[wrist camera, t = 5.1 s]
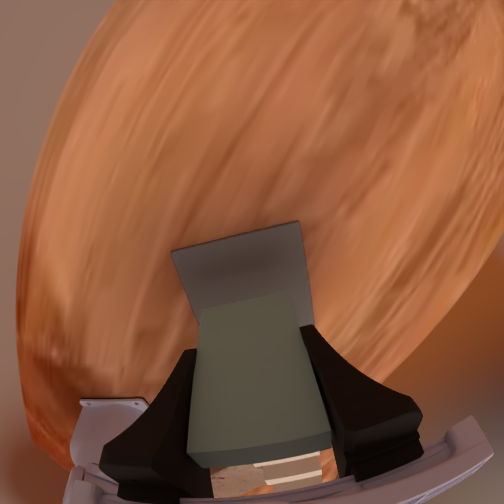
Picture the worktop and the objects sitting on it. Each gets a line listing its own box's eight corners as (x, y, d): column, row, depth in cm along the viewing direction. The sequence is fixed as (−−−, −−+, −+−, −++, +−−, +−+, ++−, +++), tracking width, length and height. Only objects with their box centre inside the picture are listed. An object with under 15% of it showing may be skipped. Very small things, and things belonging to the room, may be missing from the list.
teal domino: (210, 330, 17) (202, 468, 9) (201, 309, 16) (186, 452, 8) (291, 312, 17) (331, 448, 8) (287, 290, 16) (331, 430, 8)
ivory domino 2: (268, 434, 30) (276, 497, 22) (266, 429, 29) (274, 494, 21) (308, 426, 30) (323, 487, 22) (307, 420, 29) (322, 484, 21)
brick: (238, 434, 29) (239, 466, 25) (292, 445, 32) (296, 474, 28) (185, 468, 35) (183, 492, 31) (230, 478, 37) (230, 500, 33)
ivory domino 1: (259, 413, 28) (267, 485, 20) (256, 405, 27) (264, 480, 19) (304, 403, 28) (321, 474, 19) (303, 396, 27) (321, 469, 19)
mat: (256, 442, 31) (256, 444, 31) (171, 250, 20) (170, 252, 19) (324, 428, 31) (325, 429, 31) (298, 220, 19) (299, 221, 19)
